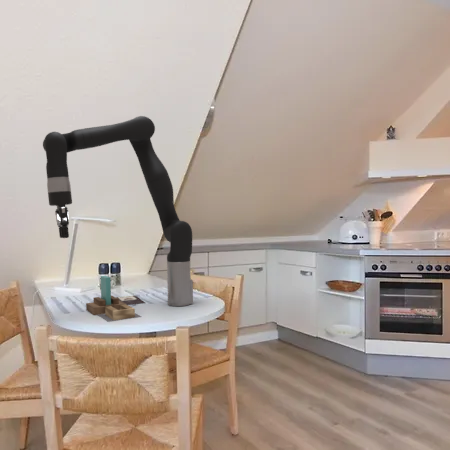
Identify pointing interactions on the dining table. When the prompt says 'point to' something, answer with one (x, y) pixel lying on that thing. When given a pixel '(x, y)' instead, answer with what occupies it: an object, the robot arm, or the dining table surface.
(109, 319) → the mat
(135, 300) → the chocolate bar
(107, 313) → the rack
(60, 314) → the dining table surface
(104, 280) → the teal rectangular pillar
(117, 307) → the brown wooden stand
